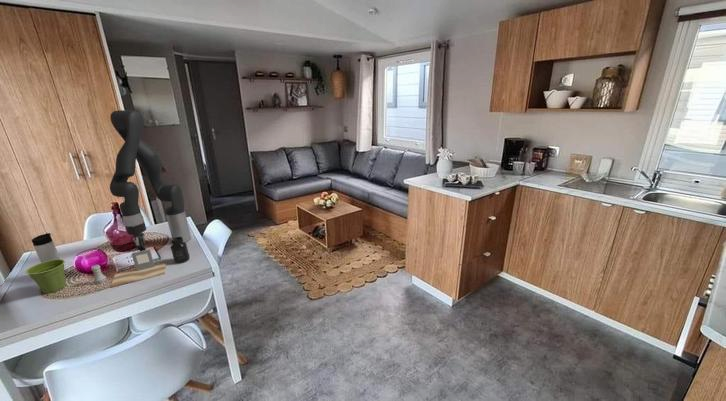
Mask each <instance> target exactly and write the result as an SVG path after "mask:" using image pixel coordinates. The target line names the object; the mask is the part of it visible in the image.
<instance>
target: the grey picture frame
mask: <svg viewBox="0 0 726 401" xmlns="http://www.w3.org/2000/svg"><path fill="white" fill-rule="evenodd" d="M131 257H132V260H133V263H134V266H135V269H136V270H137V271H139V270H144V269H148V268H152V267H155V264H156V263H155V261H154V259H153V253H152V252H151V249H150V248H148V249H147V248H146V250H143V251H140V250H137V251H134V252H131Z"/></svg>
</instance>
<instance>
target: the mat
mask: <svg viewBox="0 0 726 401" xmlns="http://www.w3.org/2000/svg"><path fill="white" fill-rule="evenodd" d="M154 264H155V267H152V268H148V269H144V270H139V271H137V270H136V268H134V269H130V270H125V271H121V272H117V273H115V274H114V277H113V279H112V282H111V284H110V289H112V288H116V287H120V286H124V285H128V284H132V283H135V282H139V281H143V280H147V279H151V278H155V277H159V276H162V275H165V273H166V266H167V261H162V262H158V263H154Z"/></svg>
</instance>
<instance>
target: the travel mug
mask: <svg viewBox="0 0 726 401" xmlns="http://www.w3.org/2000/svg"><path fill="white" fill-rule="evenodd" d="M51 235H52V233H50V232H47V233H45V234H40V235H37V236H35V237H33V238H32V239H31V243H32V246H33V249H35V253H36V255H37V257H38V259H39V262H40V263H42V262H46V261H50V260H56V259H61V257H60V254H59V252H58V248H57V247H56V245H55V242H54V240H53V238H52V236H51ZM64 273H66V269H65V268H64Z"/></svg>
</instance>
